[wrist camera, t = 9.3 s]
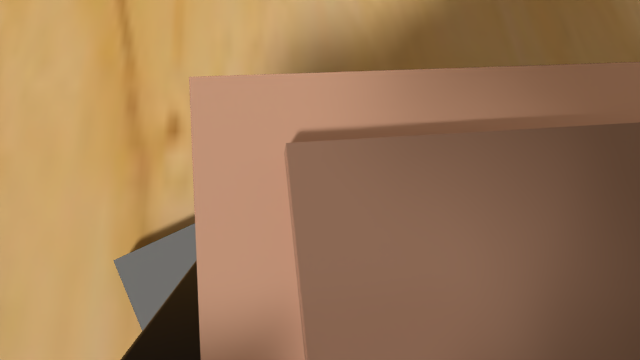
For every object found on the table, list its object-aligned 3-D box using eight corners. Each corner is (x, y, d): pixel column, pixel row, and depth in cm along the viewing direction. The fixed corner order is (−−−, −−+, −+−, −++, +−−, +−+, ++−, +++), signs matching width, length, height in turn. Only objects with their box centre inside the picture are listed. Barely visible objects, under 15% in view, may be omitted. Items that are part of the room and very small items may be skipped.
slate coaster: (487, 384, 17) (500, 387, 16) (239, 548, 14) (238, 564, 14) (359, 154, 19) (364, 145, 18) (121, 263, 16) (113, 260, 16)
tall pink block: (399, 397, 14) (992, 707, 3) (248, 421, 13) (220, 984, 2) (376, 249, 15) (721, 47, 4) (238, 262, 14) (185, 62, 3)
